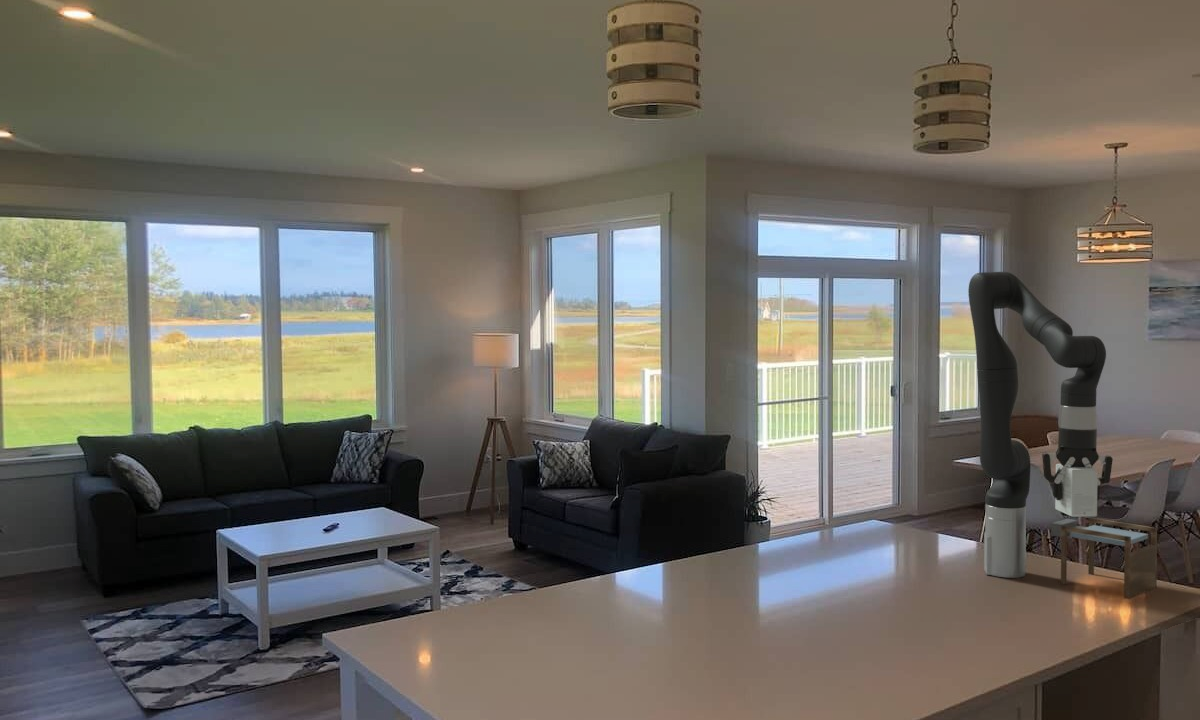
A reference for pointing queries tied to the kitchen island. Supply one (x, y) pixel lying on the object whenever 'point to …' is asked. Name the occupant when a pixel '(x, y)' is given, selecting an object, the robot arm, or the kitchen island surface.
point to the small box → (1078, 492)
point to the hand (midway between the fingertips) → (1075, 500)
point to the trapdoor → (1073, 523)
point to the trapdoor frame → (1136, 563)
